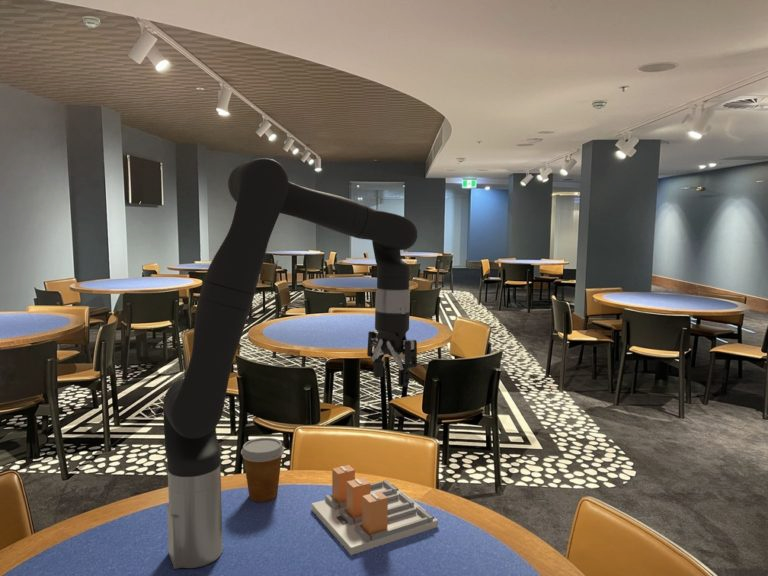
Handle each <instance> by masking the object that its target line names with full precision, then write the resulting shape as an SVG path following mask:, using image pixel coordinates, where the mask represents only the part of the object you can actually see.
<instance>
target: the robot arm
mask: <svg viewBox="0 0 768 576" xmlns="http://www.w3.org/2000/svg"><path fill="white" fill-rule="evenodd" d="M227 187H228V188H227V189H228V191H229V194H230V196H231V197H232V199H233V201H235V202H236V205H235V209H234V214H233V218H232V221H231V224H230V227H229V229H228V231H227V234H226V237H225V238H224V240H222V241H223V242H222V243H221V245H220V247H219V248H218V250H217V252H216V253H215V255H214V256H213V259H212V261H211V262H210V264H209V266H208V268H207V271H206V274H205V277H204V281H203V283H202V286H201V289H200V293H199V295H198V296H199V297H198V299H197V303H196V308H195V314H194V315H195V316H194V326H193V342H192V351H191V356H190V360H189V364H188V366H187V368H186V369H187V370H186V373H185V375H184V378H180V379H177V380H176V381H175V382H173V383H172V384H171V386H169V388H168V389H167V390H166V392H165V394H164V398H163V407H162V408H163V410H162V412H163V413H162V414H163V416H162V417H163V431H164V432H163V433H164V434H163V435H164V448H165V449H164V450H165V455H166V456H165V457H166V463H167V485H168V486H167V488H168V489H167V490H168V491H167V493H168V504H167V505H166V515H167V516H166V518H167V521H166V522H167V545H168V547H167V548H168V549H167V550H168V551H167V552H168V554H169V559H170V561H171V564H172V566H173V569H175V570H177V569H183V568H184V569H195V568H200V567H203V566H207V565H209V564H212V563H213V562H215V561H216V560H217V559H219V557H221V555H222V553H223V550H224V549H223V541H224V540H223V513H222V512H223V510H222V507H223V506H222V475H221V472H222V468H221V449H220V444H219V441H218V435H217V426H218V424H219V422H220V421H221V420H222V416H223V413H224V408H225V403H226V397H227V391H228V387H229V386H228V385H229V381H230V376H231V372H232V371H231V370H232V366H233V363H234V359H235V357H236V353H237V350H238V348H239V345H240V342H241V339H242V336H243V332H244V329H245V325H246V322H247V320H248V316H249V314H250V310H251V307H252V305H253V301H254V297H255V294H256V291H257V286H258V282H259V279H260V275H261V271H262V268H263V264H264V260H265V257H266V253H267V249H268V244H269V242H270V238H271V235H272V233H273V230H274V228H275V225H276V223H277V220H278V218H279V215H280V214H282V215H285V216H286V215H287V216H290V217H294V218H297V219H300V220H304V221H306V222H309V223H313V224H316V225H318V226H321V227H324V228H326V229H328V230H331V231H335V232H338V233H339V234H343V235H347V236H349V237H352V238H355V239H359V240H368V241H371V242H372V243H371V244H372V249H373V253H374V259H375V263H376V268H377V276H376V280H377V281H376V294H375V302H374V305H375V308H374V309H375V310H374V311H375V312H374V329H375V330H371V331H370V330H369V331H368V334H367V335H368V336H367V337H368V338H367V348H366V349H367V352H366V355H367V357H369V358H371V360H372V362H373V369H372V370H373V371H372V372H373V377H374V378H376V379H378V378H379V379H380V378H383V377H384V359H385V357H386V355H388V356H390V357H392V359H393V360H394V361H395V362H396V364H397V366H398V379H397V380H398V381H397V385H398V387H400V388H403V387H408V385H409V383H410V370H411V369H414V368H418V367H417V366H418V349H417V348H418V341H417V340H416V339H407V332H408V331H409V330H410V311H411V310H410V308H411V307H410V306H411V305H410V304H411V295H410V267H409V266H410V265H408V264H407V262H405V261H404V260H403V259H402V255H401V251H404V250H405V251H406V250H408V249H410V248H411V247H413V246H414V245H415V243H416V242H417V239H418V230H417V228H416V225H415V224H414V222H413V221H412V220H411V219H409V218H407V217H405V216H403V215H399V214H396V213H392V212H388V211H385V210H384V211H383V210H381V209H380V210H379V209H375V208H372V207H370V206H368V205H365V204H363V203H360V202H358V201H356V200H353V199H351V198H346V197H344V196H340V195H336V194H333V193H328V192H324V191H319V190H316V189H312V188H307V187H304V186H301V185H298V184H296V183H293V182H291V181H289V179H288V175H287V172H286V169H285V168H284V166H282V164H281V163H280V162H278V161H277V160H275V159H272V158H267V157H262V158H261V157H260V158H254V159H251V160H247V161H244V162H242V163H240V164H238V165H237V166H236V167H234V168H233V169H232V171H231V172H230V175H229V176H228V180H227ZM373 347H374V348H373Z"/></svg>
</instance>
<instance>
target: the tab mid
mask: <svg viewBox="0 0 768 576" xmlns="http://www.w3.org/2000/svg"><path fill="white" fill-rule="evenodd" d="M370 484H371V482H370V481H368V480H367V479H366V478H365V477H364V476H363V477H359V478H355V480H351V481H347V514H348V515H349V516H350V517H351V518H352V519H353V520H354V518H355V517H359V516H362V496H364V495H368V494H370Z"/></svg>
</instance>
